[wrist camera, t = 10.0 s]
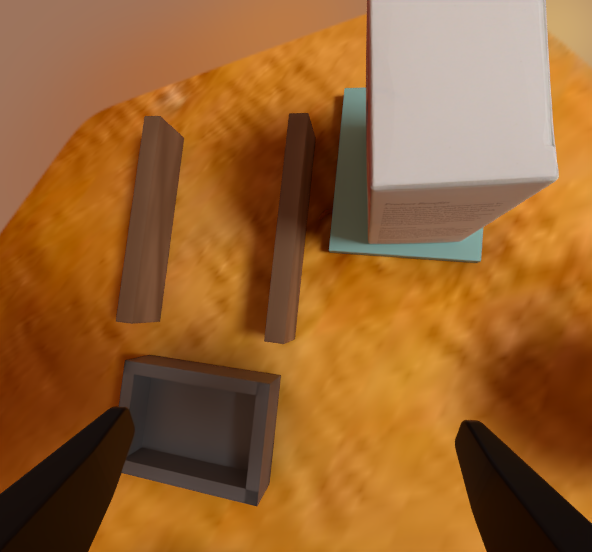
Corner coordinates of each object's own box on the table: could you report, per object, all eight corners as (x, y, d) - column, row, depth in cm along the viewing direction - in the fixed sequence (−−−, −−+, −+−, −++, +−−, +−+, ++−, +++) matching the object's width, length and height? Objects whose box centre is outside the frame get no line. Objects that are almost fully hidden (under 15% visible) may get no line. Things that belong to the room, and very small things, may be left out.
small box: (365, 125, 22) (365, -37, 11) (458, 117, 21) (550, -73, 10) (366, 247, 21) (366, 190, 11) (462, 245, 20) (564, 178, 10)
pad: (487, 91, 21) (492, 83, 20) (476, 262, 20) (480, 261, 20) (345, 95, 23) (344, 88, 22) (330, 252, 22) (328, 250, 21)
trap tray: (280, 375, 22) (270, 383, 20) (269, 483, 22) (257, 506, 19) (149, 354, 24) (125, 360, 22) (136, 453, 24) (110, 469, 21)
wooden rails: (315, 137, 23) (308, 113, 20) (294, 339, 22) (283, 344, 19) (169, 138, 26) (144, 116, 23) (145, 319, 25) (115, 321, 22)
